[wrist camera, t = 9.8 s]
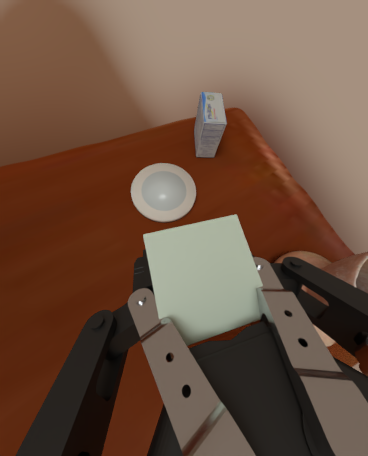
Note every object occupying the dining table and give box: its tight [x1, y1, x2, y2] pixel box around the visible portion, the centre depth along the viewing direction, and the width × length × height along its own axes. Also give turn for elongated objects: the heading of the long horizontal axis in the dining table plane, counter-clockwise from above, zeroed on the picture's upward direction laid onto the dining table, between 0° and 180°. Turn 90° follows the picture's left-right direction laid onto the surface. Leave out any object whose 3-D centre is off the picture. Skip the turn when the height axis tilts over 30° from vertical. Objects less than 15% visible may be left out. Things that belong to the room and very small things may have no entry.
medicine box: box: [194, 92, 226, 158], centre depth 31 cm, size 8×4×9 cm, turn 2°
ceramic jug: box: [274, 251, 368, 346], centre depth 21 cm, size 18×14×14 cm
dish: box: [131, 163, 196, 223], centre depth 30 cm, size 13×13×1 cm
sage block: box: [143, 214, 263, 346], centre depth 11 cm, size 5×5×9 cm
